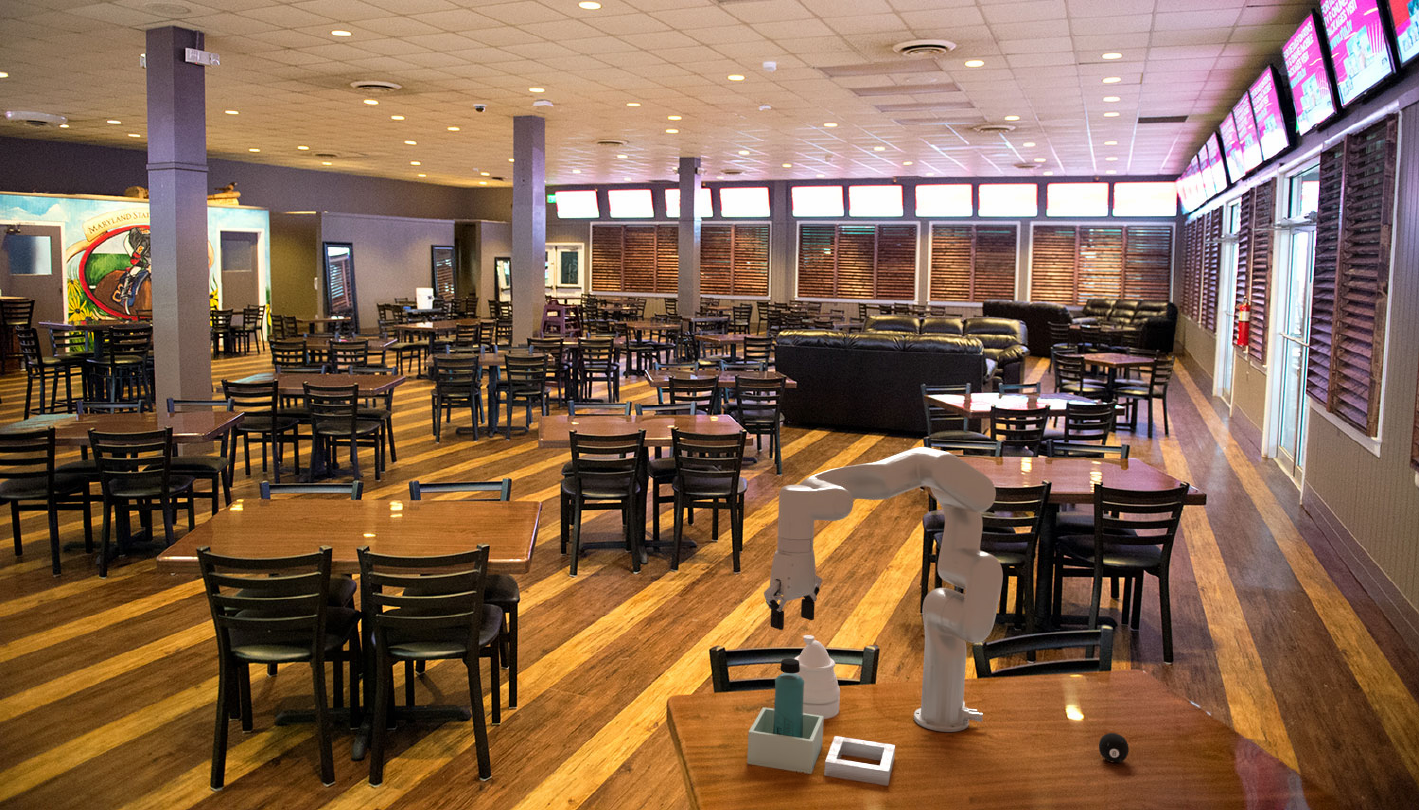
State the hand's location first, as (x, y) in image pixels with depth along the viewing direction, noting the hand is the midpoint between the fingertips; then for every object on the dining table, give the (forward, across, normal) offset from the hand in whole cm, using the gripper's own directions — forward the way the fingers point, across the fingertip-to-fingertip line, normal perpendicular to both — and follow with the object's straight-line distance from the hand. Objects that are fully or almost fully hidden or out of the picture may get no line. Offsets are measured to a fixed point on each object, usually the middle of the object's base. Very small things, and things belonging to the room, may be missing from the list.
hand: (792, 623), depth 217 cm
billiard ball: (+30, -52, +48) cm, 77 cm away
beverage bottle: (+28, 0, 0) cm, 28 cm away
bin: (+29, 0, 0) cm, 29 cm away
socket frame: (+29, -8, +14) cm, 33 cm away
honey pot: (+30, -23, -13) cm, 40 cm away
